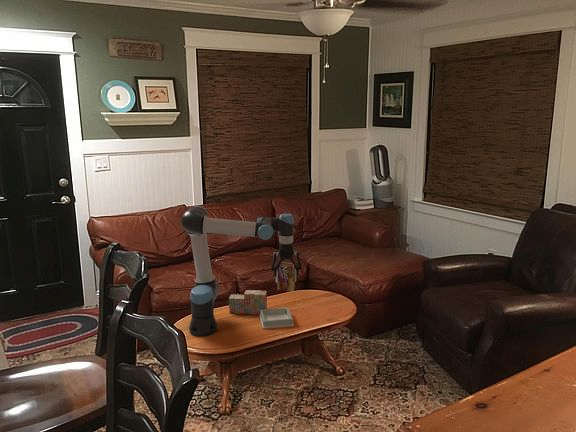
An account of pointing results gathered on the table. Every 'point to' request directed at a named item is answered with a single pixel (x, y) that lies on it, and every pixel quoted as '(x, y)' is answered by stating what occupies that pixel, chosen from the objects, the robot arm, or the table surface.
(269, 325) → the open storage bin
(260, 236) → the robot arm
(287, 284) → the candy box
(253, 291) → the stack of blocks
